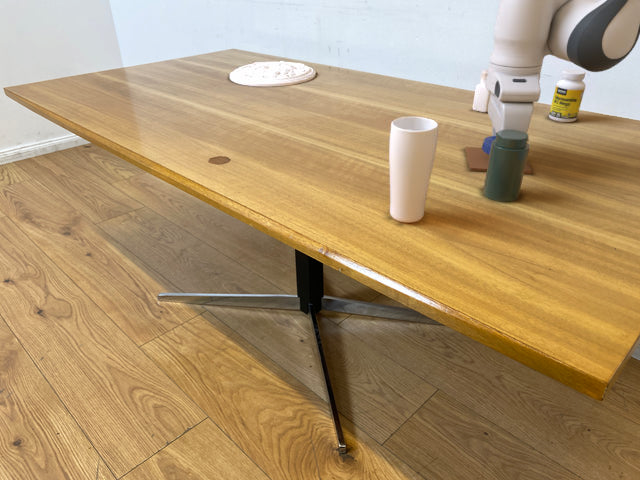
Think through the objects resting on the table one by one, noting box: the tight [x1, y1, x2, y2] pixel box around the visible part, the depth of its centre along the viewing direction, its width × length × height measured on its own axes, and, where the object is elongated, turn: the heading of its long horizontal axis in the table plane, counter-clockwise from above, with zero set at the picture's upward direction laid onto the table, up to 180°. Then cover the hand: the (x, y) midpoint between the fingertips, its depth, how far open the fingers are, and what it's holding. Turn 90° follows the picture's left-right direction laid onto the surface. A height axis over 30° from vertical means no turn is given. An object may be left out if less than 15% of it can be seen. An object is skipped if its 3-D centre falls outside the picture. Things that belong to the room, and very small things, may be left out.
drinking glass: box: [388, 116, 439, 224], centre depth 73 cm, size 7×7×15 cm
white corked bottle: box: [472, 69, 491, 113], centre depth 121 cm, size 4×4×10 cm
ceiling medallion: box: [229, 60, 317, 87], centre depth 158 cm, size 28×28×3 cm
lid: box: [481, 135, 496, 155], centre depth 93 cm, size 6×6×2 cm
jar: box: [482, 129, 531, 203], centre depth 80 cm, size 6×6×11 cm
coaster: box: [464, 146, 533, 175], centre depth 95 cm, size 11×11×1 cm
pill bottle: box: [548, 68, 586, 123], centre depth 113 cm, size 6×6×11 cm
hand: (498, 152), depth 94 cm, fingers closed on lid, 6 cm apart
